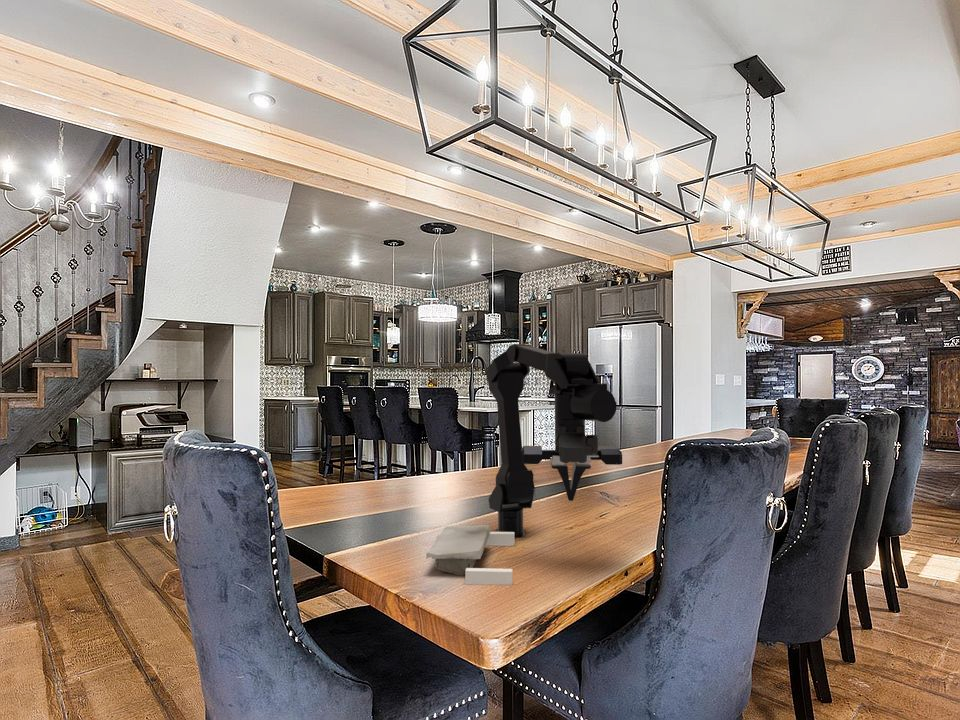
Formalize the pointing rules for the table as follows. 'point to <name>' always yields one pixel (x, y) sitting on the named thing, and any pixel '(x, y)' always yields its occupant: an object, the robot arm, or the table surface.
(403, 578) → the table surface
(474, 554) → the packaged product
